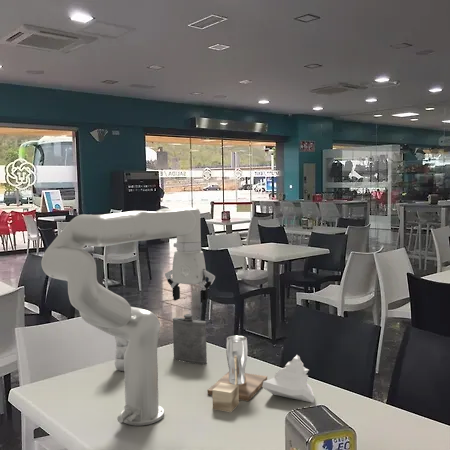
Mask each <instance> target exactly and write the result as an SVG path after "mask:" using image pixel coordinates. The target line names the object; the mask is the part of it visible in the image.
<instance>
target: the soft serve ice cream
mask: <svg viewBox="0 0 450 450" xmlns="http://www.w3.org/2000/svg"><path fill="white" fill-rule="evenodd" d="M308 372H309V369H308V368H306V367H305V366H304V363H303V362H302V360H301V357H300V355H298V354H296V355H295V356H294V357H293V358H292V360H290V361H288V362H287V363H286V364H285V366H284V367H282V368H280V369H278V370H277V372H275V374H274V377H272V378H268V379H267V380H266V381H263V386H262V387H261V388H263V389H264V390H266V391H267V392H269V393H270V394H272V395H274V396H277V397H284V398H289V399H293V400H299V401H303V402H307V403H312V404H314V402H315V395H314V394H315V393H314V392H313V387H312V386H311V385H310V384H309V383H308V380H309V379H308V378H309V375H308Z"/></svg>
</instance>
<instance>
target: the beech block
mask: <svg viewBox="0 0 450 450" xmlns="http://www.w3.org/2000/svg"><path fill="white" fill-rule="evenodd" d="M211 396H212V410H214V411H215V410H216V411H217V410H218V411H220V412H221V411H223V412H227V413H232V412H234V410H235V409H236V408H237V407H238V406H239V405H240V400H239V385H233V384H226V383H220V384H218V385H217V386H216V387H215V388H214V389H213V390H212V395H211Z"/></svg>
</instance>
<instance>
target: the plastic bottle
mask: <svg viewBox="0 0 450 450" xmlns="http://www.w3.org/2000/svg"><path fill="white" fill-rule="evenodd" d="M114 340H115V359H114V367H115V369H116V370H117V371H120V372H124V355H125V351H126V349H127V346H128V343H129V341H128V340H125V339H122V338H119V337H115V336H114Z"/></svg>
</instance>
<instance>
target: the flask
mask: <svg viewBox="0 0 450 450" xmlns="http://www.w3.org/2000/svg"><path fill="white" fill-rule="evenodd" d="M172 340H173V359H174V360H175V359H176V361H179V360H180V361H179V362H183V361H184V363H188V362H189V363H191V364H195V363H196V364H197V365H206V364H207V363H208V362H207V361H208V359H207V321H205V320H196V319H193V314H191V313H186V314H184V315H183V317H172Z"/></svg>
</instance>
